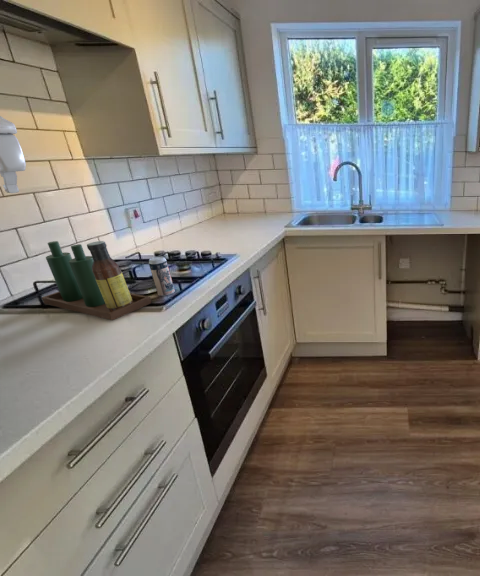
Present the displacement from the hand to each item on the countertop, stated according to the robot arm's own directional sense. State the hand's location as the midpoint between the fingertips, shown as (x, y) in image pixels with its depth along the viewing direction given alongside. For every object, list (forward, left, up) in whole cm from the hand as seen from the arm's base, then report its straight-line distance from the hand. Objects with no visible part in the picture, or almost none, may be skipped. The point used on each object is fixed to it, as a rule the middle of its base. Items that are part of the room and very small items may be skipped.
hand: (1, 191), depth 82 cm
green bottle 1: (-17, +13, -35) cm, 41 cm away
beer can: (+7, +26, -36) cm, 45 cm away
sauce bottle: (+5, +13, -35) cm, 38 cm away
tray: (-6, +13, -36) cm, 38 cm away
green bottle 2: (-6, +13, -35) cm, 38 cm away
